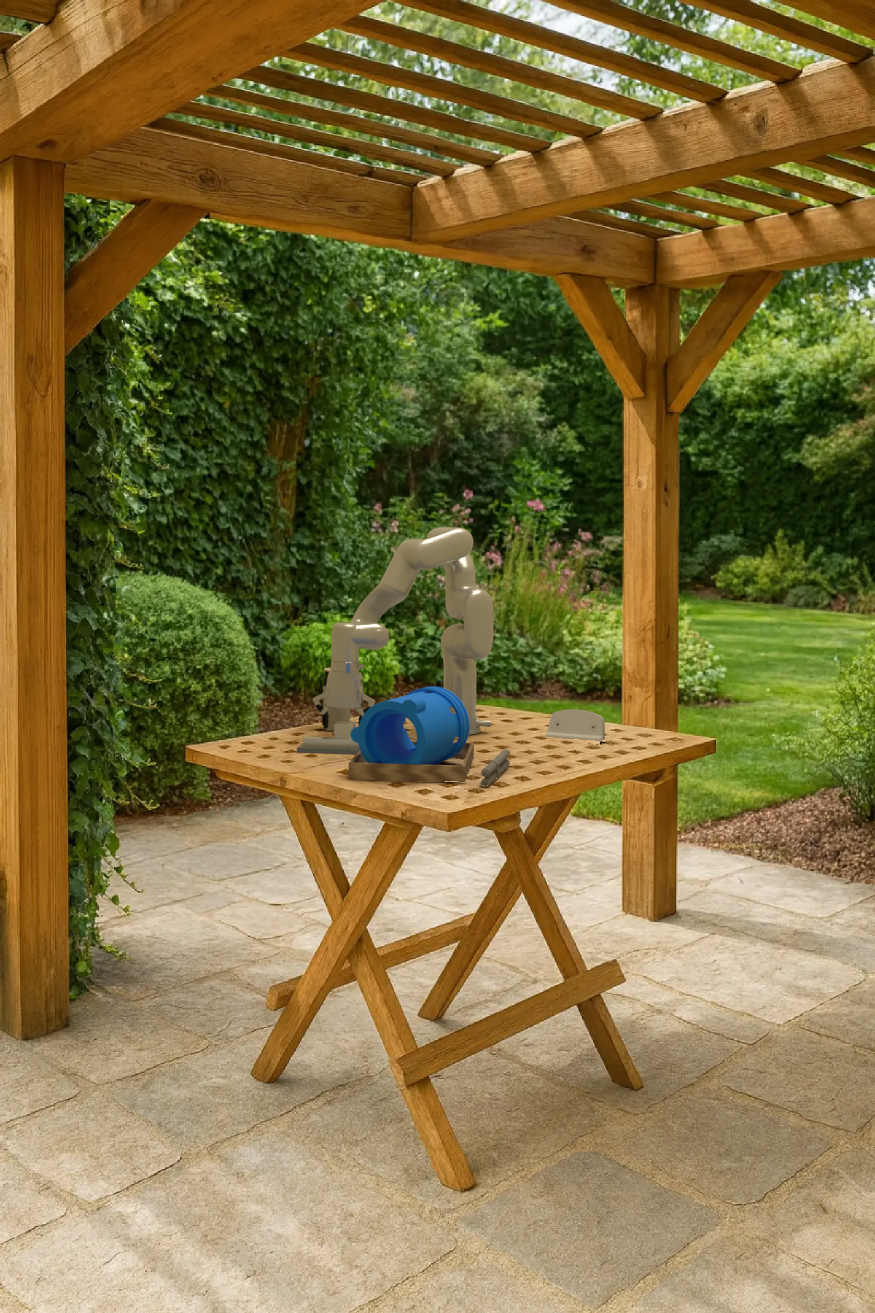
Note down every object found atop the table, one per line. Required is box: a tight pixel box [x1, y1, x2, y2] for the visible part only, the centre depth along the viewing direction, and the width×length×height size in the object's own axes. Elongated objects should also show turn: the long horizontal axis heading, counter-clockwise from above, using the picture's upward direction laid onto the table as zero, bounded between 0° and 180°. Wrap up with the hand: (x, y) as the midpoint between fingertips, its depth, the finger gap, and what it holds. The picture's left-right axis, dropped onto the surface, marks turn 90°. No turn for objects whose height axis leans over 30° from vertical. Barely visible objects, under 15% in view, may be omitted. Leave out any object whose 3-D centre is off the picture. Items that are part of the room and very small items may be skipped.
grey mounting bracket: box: [545, 708, 606, 741], centre depth 342 cm, size 17×5×10 cm, turn 67°
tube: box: [351, 685, 470, 765], centre depth 298 cm, size 25×22×19 cm
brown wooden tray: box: [348, 740, 475, 783], centre depth 300 cm, size 28×32×4 cm
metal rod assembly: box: [480, 748, 511, 786], centre depth 291 cm, size 26×3×5 cm, turn 166°
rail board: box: [296, 735, 360, 755], centre depth 323 cm, size 22×10×3 cm, turn 85°
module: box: [333, 720, 357, 738], centre depth 335 cm, size 5×6×5 cm
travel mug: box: [322, 667, 351, 732], centre depth 354 cm, size 8×8×18 cm
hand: (343, 729), depth 334 cm, fingers open, 9 cm apart
